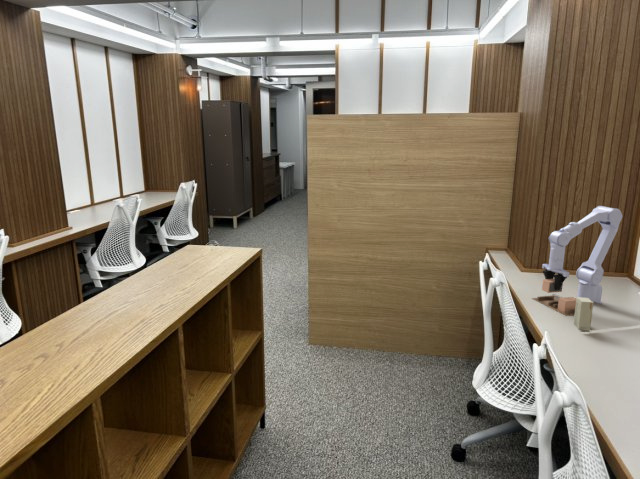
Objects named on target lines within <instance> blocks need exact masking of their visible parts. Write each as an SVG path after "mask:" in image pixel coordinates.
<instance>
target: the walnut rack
mask: <svg viewBox="0 0 640 479" xmlns="http://www.w3.org/2000/svg"><path fill="white" fill-rule="evenodd" d="M559 298H564V297H562V296H561V295H558V294H556V293H552V295H542V296H540V295H539V296H537V297H532V298H531V300H533V301H535V302H538V303H539V304H542V305H543V306H545V307H547V308H549V309H552V310H553V311H555V312H557V313H559V314H561V315H563V316H565V317H571V316H575V309H574V310H566V312H562V311H560V310H558V300H559Z"/></svg>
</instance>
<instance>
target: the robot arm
mask: <svg viewBox="0 0 640 479" xmlns="http://www.w3.org/2000/svg"><path fill="white" fill-rule="evenodd" d="M623 217H624V216H623V213H622V211H621V210H620V209H619V208H616V207H615V208H614V207H608V206H604V205H598V206H596V207H594V208H593V209H592V211H591V212H590V213H588V214H587V215H586V216H584V217H583V218H582V219H580V220H579V221H577V222H576V221H571V222H569V223H568V225H566V226H564V227H562V228H560V229H559V230H554V231H553V232H551V233H550V235H549V236H548V241H549V243H550V244H549V246H550V252H549V259H548V263H542V266H541V268H542V269H543V270H542V273H543V275H544V279H555V290H560V288H561V285H562V283H563V284H564V281H566V279H567V278H569V277H570V272H569V271H567V270H566V269H564V262H565V252H566V246H568V245H569V243H570V241H571V240H572V239H573V238H575V237H577V236H578V235H580V234H581V233H583V232H582V231H583V229H586V228H587V227H589V226H591V225H592V224H593V225H594V224H595V223H596V222H598V223H599V225H600V226H601V228H602V230H601V232H600V234H599V236H598V239H597V241H596V243H595V245H594V247H593V249H592V251H591V254H590V256H589V258H588V260H586V261H584V262H582V263H581V265H580V266H579V267H578V268H577V270H576V271H575V272H576V273H575V276H576V278H577V279H578V280H577V281H578V287H577V295H576V298H577V297H583V298H589V299H590V300H591V301H592V302H593V303H597V304H603V302H602V296H603V286H602V285H601V282H602V280H603V276H604V272H605V270H604V268H603V266H602V264H603V263H604V260H605V259H606V258H605V257H606V255H607V254H608V252H609V250H610V248H611V245H612V243H613V241H614V239H615V236H616V235H617V232H618V230H619V227H620V223H621V221H622V219H623Z"/></svg>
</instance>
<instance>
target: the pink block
mask: <svg viewBox="0 0 640 479" xmlns="http://www.w3.org/2000/svg"><path fill="white" fill-rule="evenodd" d="M576 299H577V297H576V298H575V297H574V296H569V297H563V298H559V300H558V310H560V311H562V312H566V310H574V309H575V307H576Z"/></svg>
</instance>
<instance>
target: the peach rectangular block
mask: <svg viewBox="0 0 640 479" xmlns="http://www.w3.org/2000/svg"><path fill="white" fill-rule="evenodd" d="M563 286H564V282H563V283H562V285H561V288H560V290H555V279H554V278H553V279H545V278H543V280H542V286H541V290H542V291H543V292H545V293H547V294H549V293H550V294H551V293H552V294H554V293H561V292H562V291H563Z"/></svg>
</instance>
